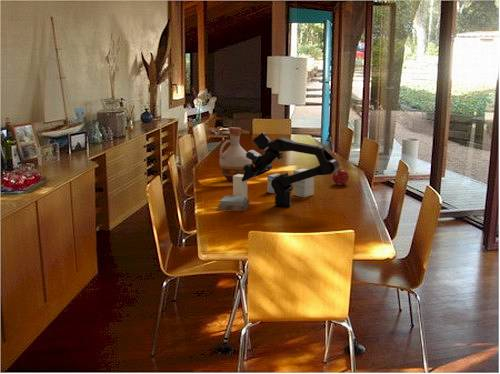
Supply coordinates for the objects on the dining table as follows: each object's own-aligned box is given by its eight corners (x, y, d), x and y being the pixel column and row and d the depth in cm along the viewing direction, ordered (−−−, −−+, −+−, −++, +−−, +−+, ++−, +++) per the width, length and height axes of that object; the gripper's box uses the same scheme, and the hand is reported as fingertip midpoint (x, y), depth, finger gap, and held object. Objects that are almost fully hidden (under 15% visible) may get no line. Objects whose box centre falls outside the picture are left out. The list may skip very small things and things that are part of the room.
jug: (231, 186, 284) (229, 130, 277) (210, 181, 297) (209, 127, 290) (258, 181, 297) (257, 127, 290) (237, 176, 310) (236, 124, 303)
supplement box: (302, 192, 271) (302, 168, 268) (314, 195, 266) (314, 170, 263) (293, 195, 266) (293, 170, 263) (304, 197, 261) (304, 172, 258)
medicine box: (276, 189, 278) (276, 173, 276) (283, 190, 275) (283, 174, 273) (267, 192, 272) (267, 175, 270) (274, 193, 269) (274, 176, 267)
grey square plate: (249, 205, 251) (249, 200, 250) (244, 212, 239) (244, 207, 239) (224, 204, 253) (224, 199, 252) (218, 211, 242) (218, 205, 241)
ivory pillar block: (247, 199, 259) (247, 175, 256) (242, 201, 255) (241, 177, 252) (238, 197, 262) (238, 174, 259) (233, 200, 257) (232, 175, 255)
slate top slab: (246, 200, 250) (246, 196, 249) (242, 206, 240) (241, 201, 240) (225, 199, 251) (225, 195, 251) (220, 205, 242) (220, 200, 241)
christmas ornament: (330, 185, 284) (330, 167, 282) (335, 182, 292) (335, 164, 290) (345, 187, 281) (346, 168, 278) (350, 183, 288) (351, 165, 286)
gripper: (266, 142, 255) (246, 162, 263) (246, 147, 240) (226, 169, 248) (280, 159, 253) (260, 180, 261) (262, 166, 238) (241, 188, 246)
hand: (247, 178), depth 254 cm, fingers open, 9 cm apart
